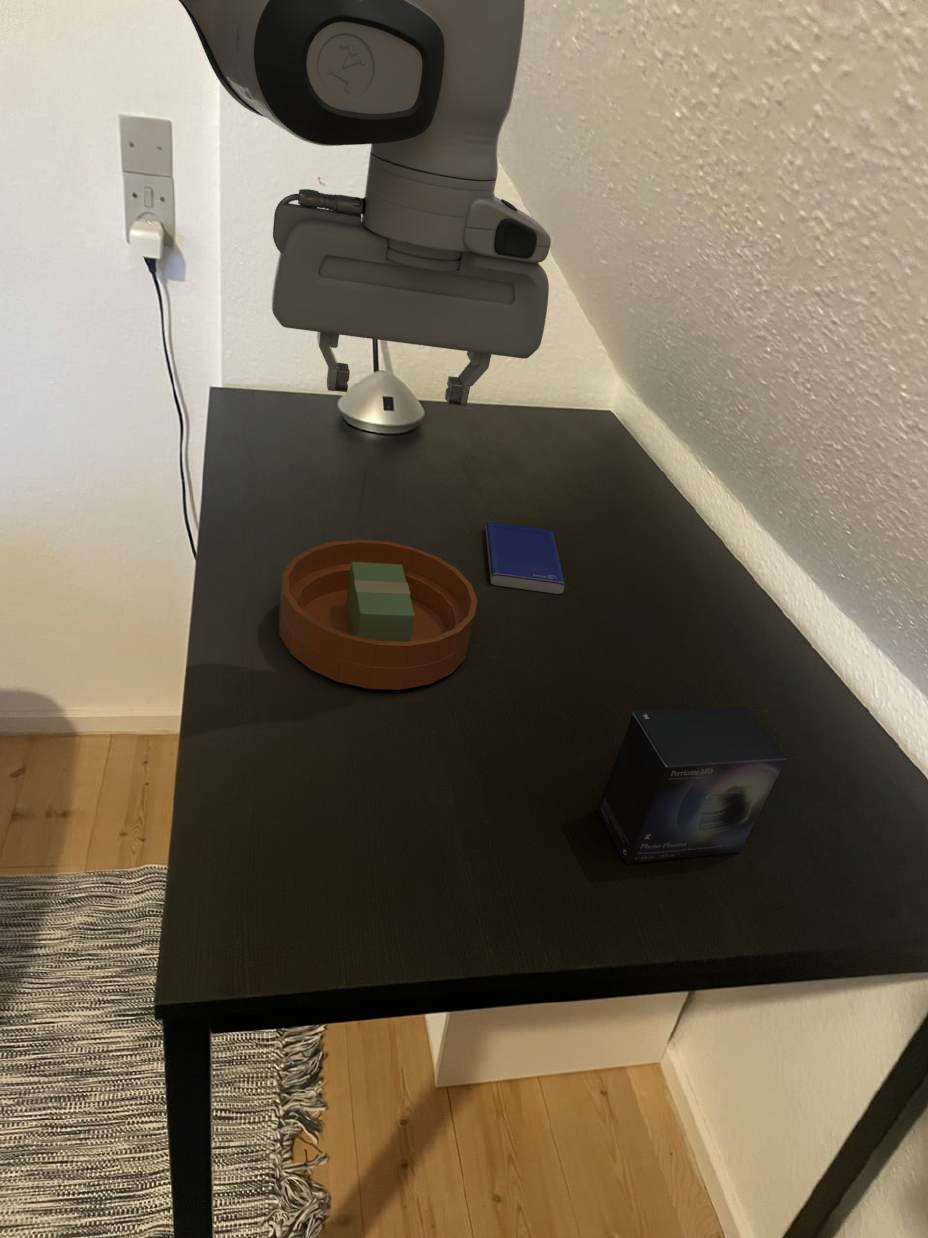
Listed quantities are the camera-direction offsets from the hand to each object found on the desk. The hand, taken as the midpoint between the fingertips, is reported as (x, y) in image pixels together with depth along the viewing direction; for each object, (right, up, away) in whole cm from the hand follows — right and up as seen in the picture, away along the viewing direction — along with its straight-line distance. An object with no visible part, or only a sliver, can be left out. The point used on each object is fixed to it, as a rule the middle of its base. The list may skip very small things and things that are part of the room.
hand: (396, 395), depth 74 cm
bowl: (-3, -19, +18) cm, 26 cm away
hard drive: (+12, -11, +35) cm, 39 cm away
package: (-3, -19, +17) cm, 26 cm away
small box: (+22, -35, +2) cm, 41 cm away
